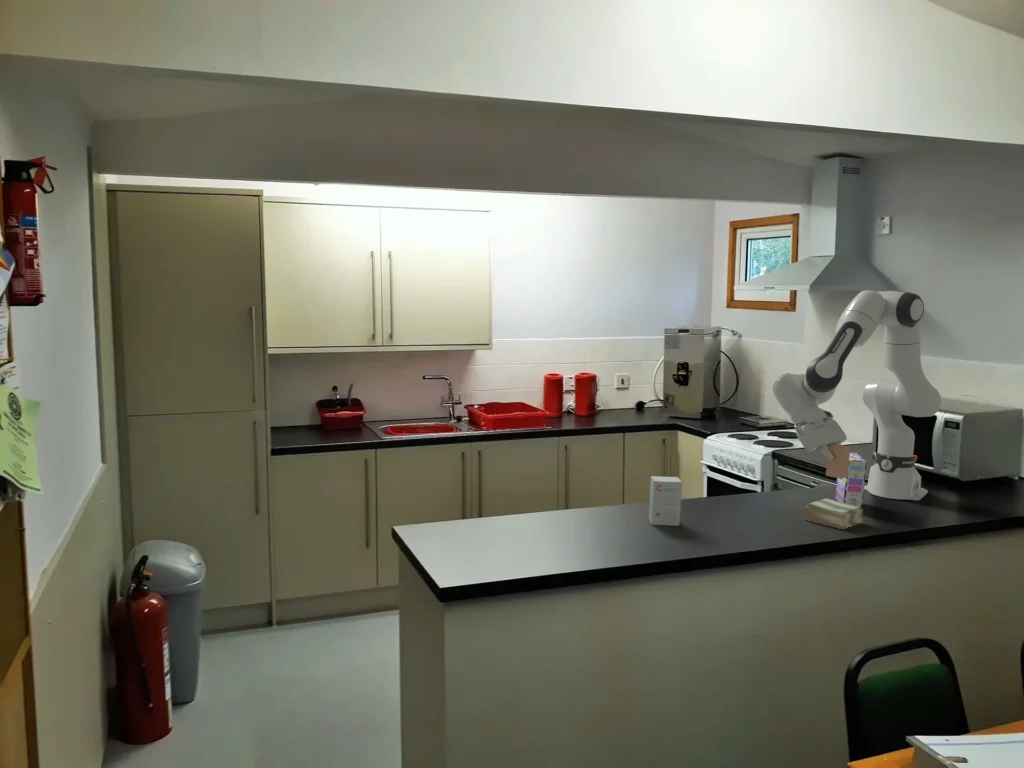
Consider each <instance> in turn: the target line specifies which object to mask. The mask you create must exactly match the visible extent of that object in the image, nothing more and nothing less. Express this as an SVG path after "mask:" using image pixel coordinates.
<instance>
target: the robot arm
mask: <svg viewBox="0 0 1024 768" xmlns="http://www.w3.org/2000/svg"><path fill="white" fill-rule="evenodd" d="M924 311H925V304H924V301H923V299H922V298H921V296H920V295H919V294H916V293H913V292H909V291H907V292H902V291H897V290H887V291H886V290H883V291H881V290H880V291H875V290H870V289H869V290H868V289H866V290H862V291H860V292H859V293H858V294H857V295H855V297H853V299H852V300H851V301H850V302H849V303H848V304H847V306H846V307H845V309H844V311H842V313H841V315H840V317H839V319H838V321H837V323H836V325H835V328H834V335H835V336H834V337H833V339H832V340H831V341H830V343H829V345H828V346H827V348H826V349H825V351H824V352H823V353H821V354H820V355H819V356H818V357H816V358H814V359H813V360H811V361H810V363H809V364H808V365H807V368H806V371H805V373H791V372H786V373H784V374H782V375H781V376H779V378H778V379H776V381H775V382H774V383H773V386H772V390H771V391H772V393H773V395H774V397H775V399H776V400H777V402H778V405H780V407H781V409H782V410H783V411H784V412H785V413H786V414H788V416H789V418H790V421H791V423H792V424H794V430H795V434H796V437H797V439H798V440H799V442H800V443H801V445H802V446H803V448H804V449H805V450H806V451H807V452H814V451H819V453H820V454H822V455H823V456H825V458H826V459H827V458H828V460H829V461H832V460H834V459H835V458H836V456H835V455H834V453H831V452H830V451H829V450H828V446H830V445H835V444H837V445H842V444H843V443H844V442H846V441H847V439H848V438H847V435H846V433H845V431H844V430H843V428H842V427H841V426H840V425H839V423H838V422H837V421H836V420H835V419H833V418H834V416H835V415H833V413H832V412H831V411H828V410H824V409H823V408H820V407H819V405H822V404H824V403H826V402H828V401H829V400H830V399H831V398H832V397H833V396H834V393H835V392H836V391H837V390H836V389H837V387H838V385H839V384H840V382H841V380H842V378H843V371H844V369H843V368H844V364H845V362H846V361H847V358H848V357H849V355H850V354H851V352H852V350H853V349H854V348H859V347H862V346H864V345H865V344H866V343H867V342H868V340H869V339H870V338H871V337H872V336H873V334H874V333H875V331H876V329H877V328H878V326H884V334H883V360H882V361H883V364H884V366H885V368H886V369H887V370H888V371H890V372H891V373H892V374H894V376H895V377H896V378H897V379H896V380H897V381H896V380H889V379H876V380H870V381H868V382H867V383H866V384H865V386H864V388H863V389H862V394H861V398H862V401H863V403H864V405H865V406H866V407H867V408H868V409H869V410H870V411H871V413H872V415H873V417H874V418H875V421H876V424H877V428H878V430H877V431H878V436H877V437H878V440H877V451H876V452H875V455H874V462H875V463H874V464H873V465H871V466H870V468H869V469H870V470H869V474H868V479H867V481H868V482H867V484H866V485H865V484H864V490H866V491H867V492H868V493H869V494H871V495H873V496H877V497H880V498H886V499H891V500H892V499H894V500H909V501H910V500H911V501H920V500H922V499H923V498H924V497H925V496H926V495H927V494H928V489H925V488H923V487H921V486H922V475H920V473H919V472H918V470H917V469H916V468H915V466H916V464H915V463H916V462H917V460H918V456H917V455H914V451H915V450H914V449H915V439H916V436H915V433H914V430H913V429H912V428H911V427H909V426H908V425H907V424H906V423H905V422H904V420H903V417H902V415H903V416H908V417H915V418H925V417H926V418H927V417H934V416H935V414H937V413H938V411H939V410H940V409H941V406H942V396H941V394H940V392H939V391H938V389H937V388H936V387H934V386H933V385H932V384H931V383H930V381H929V379H927V377H926V375H925V373H924V371H923V367H922V362H921V327H920V320H921V319H922V317H923V314H924Z"/></svg>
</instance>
